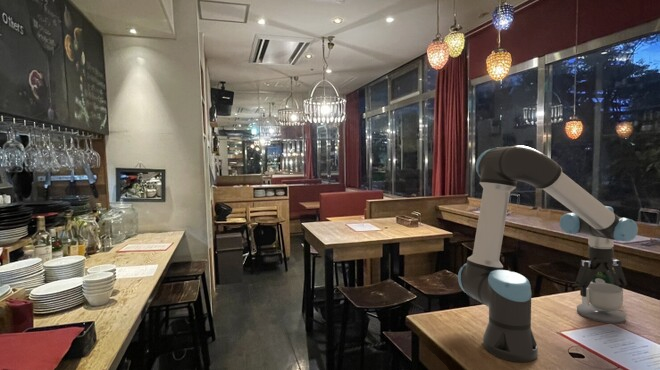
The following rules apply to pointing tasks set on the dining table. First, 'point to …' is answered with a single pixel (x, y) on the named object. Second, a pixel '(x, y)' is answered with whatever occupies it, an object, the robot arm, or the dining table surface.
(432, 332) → the dining table surface
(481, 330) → the dining table surface
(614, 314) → the charcoal plate
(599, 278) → the coffee jar
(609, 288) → the teacup
